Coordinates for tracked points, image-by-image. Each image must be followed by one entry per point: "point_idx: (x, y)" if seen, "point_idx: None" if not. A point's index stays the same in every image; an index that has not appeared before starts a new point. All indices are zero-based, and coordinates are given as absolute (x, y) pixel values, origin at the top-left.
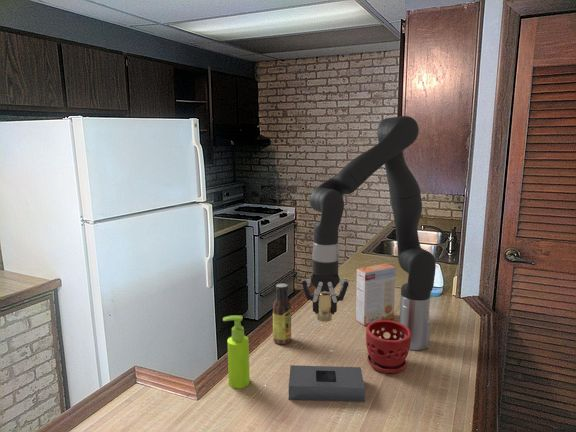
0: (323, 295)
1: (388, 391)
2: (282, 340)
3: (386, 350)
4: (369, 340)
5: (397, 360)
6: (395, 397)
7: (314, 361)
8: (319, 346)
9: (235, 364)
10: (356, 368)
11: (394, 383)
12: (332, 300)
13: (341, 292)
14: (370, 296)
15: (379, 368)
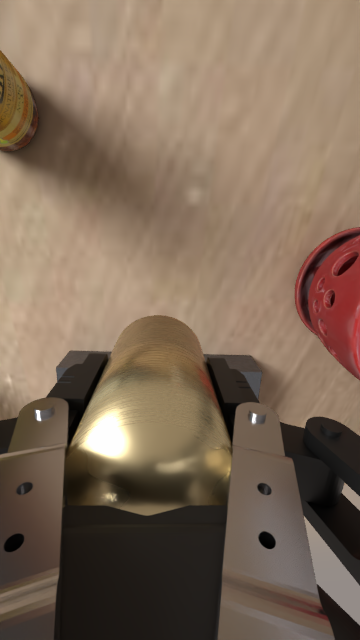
0: None
1: (303, 395)
2: (3, 147)
3: None
4: (336, 344)
5: None
6: (310, 413)
7: (135, 267)
8: (154, 164)
9: None
10: (249, 378)
11: (329, 366)
12: (227, 412)
13: (358, 580)
14: None
15: (315, 333)
